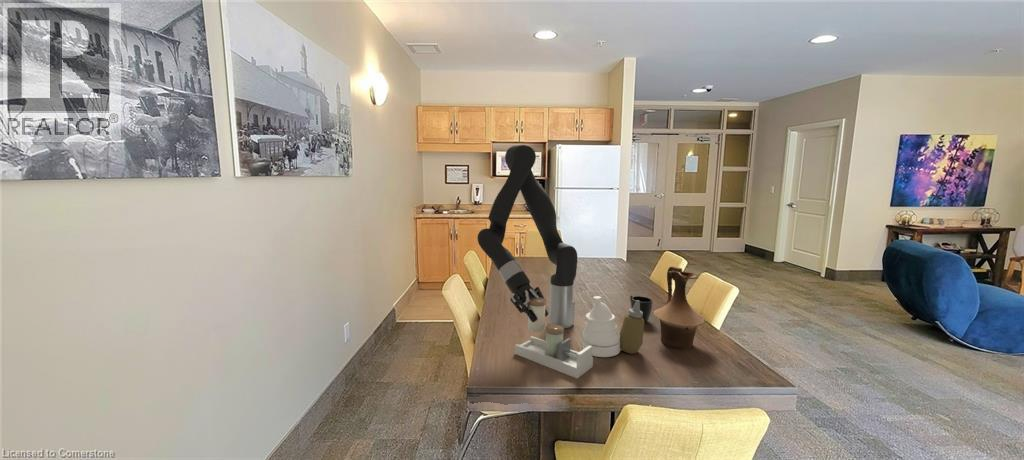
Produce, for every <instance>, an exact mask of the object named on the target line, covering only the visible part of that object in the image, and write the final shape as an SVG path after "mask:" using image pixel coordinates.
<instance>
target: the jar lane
mask: <svg viewBox="0 0 1024 460" xmlns="http://www.w3.org/2000/svg"><path fill="white" fill-rule="evenodd" d="M529 337H530V339H529V340H527V341H525V342H523V343H521V344H518V343H515V345H514V354H515V355H516V356H520V357H521V358H525V359H526V360H530V361H532V362H535V363H537V364H540V365H542V366H545V367H547V368H550V369H552V370H554V371H558V372H560V373H562V374H565V375H568V376H570V377H572V378H575V379H579V378H580V377H582V376H583V375H584V374H586V372H588V371H590V369H592V368H594V367H593V366H594V356H593V355H592V346H590V345H589V346H588V347H586V348H585V349H583V348H582V350H580V351H577V350H574V349H571V348H570V353H572V354H575V355H576V357H575V358H573V357H570V356H569V357H568V358H567V359H565V360H564V361H561V360H559V359H556V358H553V357H551V356H548V355H545V346H546V339H541V338H539V337H536V336H532V335H531V336H529Z"/></svg>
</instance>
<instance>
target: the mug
mask: <svg viewBox="0 0 1024 460" xmlns="http://www.w3.org/2000/svg"><path fill="white" fill-rule="evenodd" d="M629 300H630V309H633V306H634V304H635V302H636V300H639V301H640V311H642V312H643V315H642V318H643V319H644V324H647V323H648V322H649V321H648V320H649V318H650V316H651V314H652V309H653V308H652V307H653V299H652V298H650V297H648V296H641V295H633V294H631V295H630V298H629ZM646 322H647V323H646Z"/></svg>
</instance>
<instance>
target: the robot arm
mask: <svg viewBox="0 0 1024 460" xmlns="http://www.w3.org/2000/svg"><path fill="white" fill-rule="evenodd" d="M536 157H537V155H536V152H535V149H534V148H533V147H532V146H531V145H528V144H518V145H513V146H510V147H509V148H508V149H507V150H506V152H505V155H504V159H505V164H506V165H507V168H508V170H509V174H508V177H507V179H506V181H505V182H504V185H503V186H502V187H501V189H500V191H498V193H497V195H496V196H495V199H494V201H493V203H492V206H491V208H490V212H489V214H488V221H489V223H490V224H489V228H482V229H481V230H480V231H479V232H478V234H477V243H478V245H479V247H480V248H481V249H482V251H483V252H484V253H485V254H486V255H487V257H488V258H490V260H491V261H492V262H493V264H494V266H495V267H496V269H497V270H498V272H499V274H500V277H501V279H502V280H503V282H504V283H505V284H506V287H507V288H508V289H509V291H510V293H511V294H514V295H512V296H511V297H510V299H509V300H510V302H511V303H512V304H513V305H514V307H515V308H516V309H517V310H518V312H519V313H520V314H522V313H524V314H526V315H527V318H528V317H529V318H530V320H531V321H532V322H535V321H536V320H537V319H538V318H537V316H536V315H535V313H534V312H533V310H532V309H531V307H530V304H529V301H530V299H531V298H543V299H545V297H544V294H543V293H542V291H541V289H540V287H538V286H536V287H533V286H531V285H530V283H531V280H530V279H529V278H528V275H527V274H526V273H525V271H524V269H523V268H522V266H520V264H519V262H517V260H516V259H515V257H514V256H513V254H512V253H511V251H510V250H509V249H508V248H506V247H505V246H504V245H503V242H504V240H505V235H506V230H507V223H508V220H509V217H510V215H511V213H512V210H513V207H514V205H515V202H516V200H517V197H518V196H519V193H521V195H522V198H523V200H524V203H525V205H526V207H527V210H528V211H529V214H530V217H532V221H534V224H535V227H536V229H537V230H538V233H539V235H540V237H541V239H542V243H543V245H544V248H545V252H546V255H547V258H548V259H549V261H550V262H551V263H552V264H553V265H555V266H556V267H555V268H556V269H555V273H554V274H552V275H551V276H550V287H549V288H550V290H549V291H550V292H549V294H550V295H549V312H548V310H547V308H546V307H545V318H546V317H547V316H548V315H549V318H548V319H549V321H548V323H549V324H548V325H551V324H556V325H560V326H562V327H564V329H568V328H571V327H572V326H574V324H575V310H576V309H575V308H576V307H575V305H576V304H575V303H576V302H575V301H574V284H575V283H574V281H575V279H576V277H577V276H576V275H577V270H578V269H577V268H578V252H577V250H576V248H575V247H574V246H572V245H570V244H567V243H565V242H564V241H563V239H562V238H561V235H560V234H559V231H558V228H557V213H556V212H557V211H556V209H555V207H554V204H553V202H552V199H551V197H550V195H549V194H548V193H547V191H546V190H545V188H544V187H543V186H542V185H541V184H540V183H539V181H538V180H537V178H536V176H535V175H534V173H533V171H532V169H533V167H534V165H535V163H536V160H537V158H536Z"/></svg>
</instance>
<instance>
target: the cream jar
mask: <svg viewBox="0 0 1024 460" xmlns="http://www.w3.org/2000/svg"><path fill="white" fill-rule="evenodd" d="M529 304H530V307H531V309H532V310H533V312H534V313H535V315H536V316H537V318H538V319H537V320H536V321H535V322H532V321H531V320H530V318H529V317H528V316H527V331H529V332H531V333H542V332H545V329H546V325H545V321H546V317H545V308H546V305H547V300H546V298H544V299H543V298H535V297H534V298H531V299H530V301H529Z"/></svg>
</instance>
